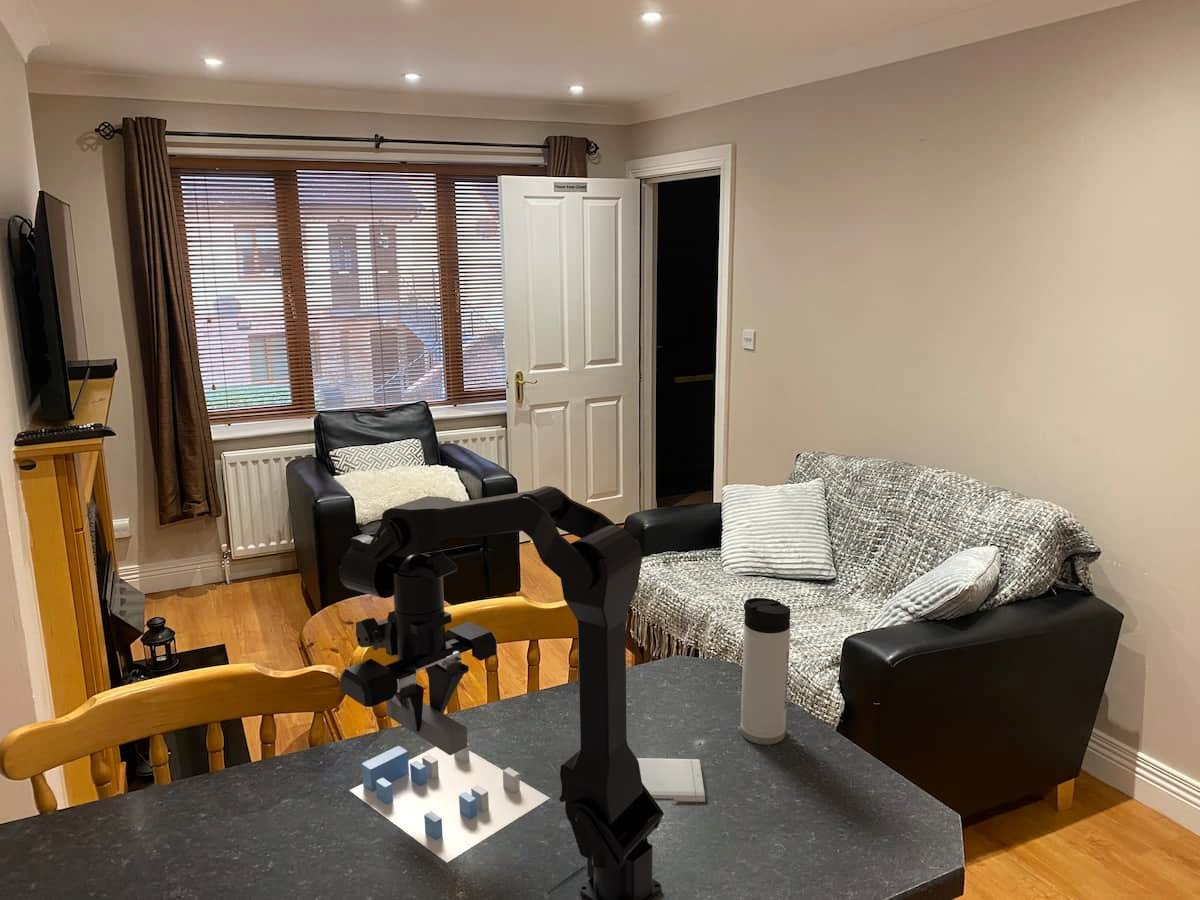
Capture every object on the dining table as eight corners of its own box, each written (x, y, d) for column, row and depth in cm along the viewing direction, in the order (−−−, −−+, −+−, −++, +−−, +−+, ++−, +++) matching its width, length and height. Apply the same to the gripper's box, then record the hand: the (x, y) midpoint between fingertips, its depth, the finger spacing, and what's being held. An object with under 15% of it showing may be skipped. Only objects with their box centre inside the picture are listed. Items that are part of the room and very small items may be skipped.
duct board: (550, 800, 109) (549, 775, 109) (447, 865, 98) (445, 837, 97) (450, 742, 123) (449, 718, 122) (349, 793, 111) (347, 767, 110)
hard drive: (605, 793, 109) (705, 793, 109) (606, 756, 117) (699, 756, 117) (605, 805, 110) (705, 805, 109) (606, 767, 118) (699, 767, 117)
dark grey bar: (467, 746, 103) (466, 727, 102) (450, 755, 101) (449, 736, 100) (403, 708, 111) (402, 690, 111) (386, 715, 110) (385, 697, 109)
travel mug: (729, 728, 126) (733, 597, 121) (767, 718, 128) (773, 589, 124) (755, 750, 120) (760, 614, 116) (794, 739, 123) (800, 605, 118)
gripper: (443, 568, 114) (448, 677, 118) (310, 609, 101) (321, 732, 105) (498, 590, 107) (501, 706, 110) (363, 638, 94) (372, 768, 97)
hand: (425, 726), depth 106 cm, fingers closed on dark grey bar, 2 cm apart
